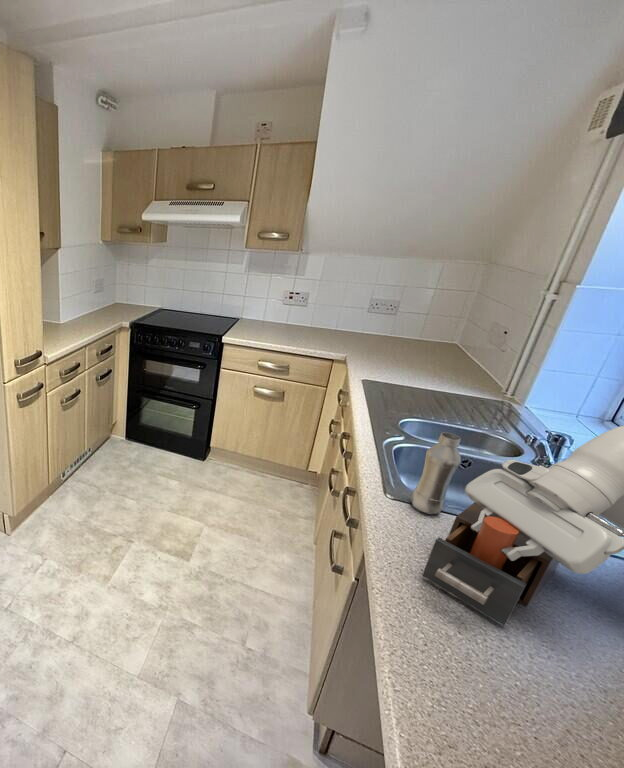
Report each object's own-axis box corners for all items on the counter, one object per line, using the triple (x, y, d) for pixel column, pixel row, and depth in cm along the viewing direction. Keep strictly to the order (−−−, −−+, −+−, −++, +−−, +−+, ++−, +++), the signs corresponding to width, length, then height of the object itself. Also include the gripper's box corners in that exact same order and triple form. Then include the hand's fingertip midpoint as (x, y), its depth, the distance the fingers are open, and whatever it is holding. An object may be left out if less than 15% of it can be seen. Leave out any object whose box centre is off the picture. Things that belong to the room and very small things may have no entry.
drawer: (493, 639, 67) (513, 599, 64) (409, 586, 77) (423, 549, 74) (534, 587, 77) (554, 550, 74) (456, 546, 87) (470, 512, 84)
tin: (504, 568, 75) (523, 528, 71) (494, 578, 72) (513, 537, 69) (473, 551, 78) (490, 513, 75) (463, 561, 76) (479, 521, 73)
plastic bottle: (439, 506, 101) (466, 434, 94) (442, 521, 96) (471, 446, 88) (407, 497, 104) (431, 426, 97) (409, 511, 99) (434, 438, 91)
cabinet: (526, 607, 74) (550, 561, 70) (439, 558, 85) (456, 516, 81) (555, 570, 82) (578, 527, 79) (472, 529, 93) (489, 490, 89)
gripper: (645, 550, 62) (558, 601, 65) (513, 474, 81) (450, 516, 84) (632, 528, 60) (544, 581, 63) (500, 454, 79) (436, 498, 82)
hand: (489, 543), depth 73 cm, fingers closed on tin, 4 cm apart
